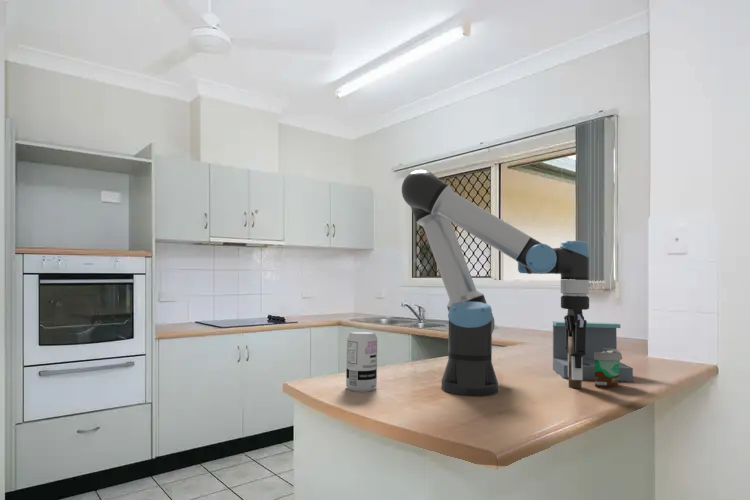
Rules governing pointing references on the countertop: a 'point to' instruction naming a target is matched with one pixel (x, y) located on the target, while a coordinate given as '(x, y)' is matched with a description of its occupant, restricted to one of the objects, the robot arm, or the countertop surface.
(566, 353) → the socket
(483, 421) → the countertop surface
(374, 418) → the countertop surface
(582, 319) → the robot arm
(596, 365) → the food container
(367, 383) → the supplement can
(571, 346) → the peg
